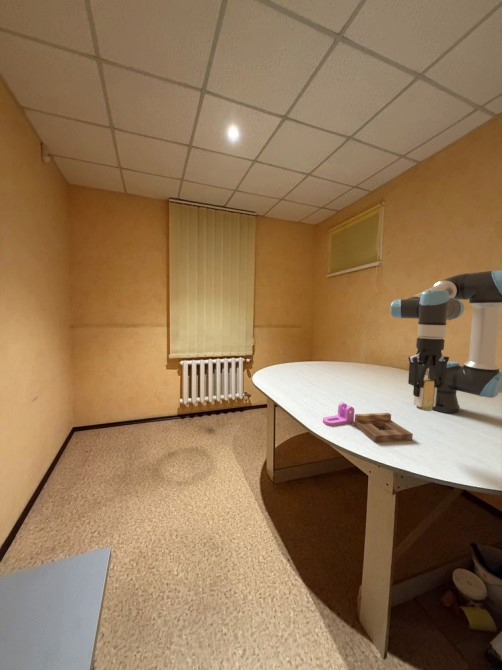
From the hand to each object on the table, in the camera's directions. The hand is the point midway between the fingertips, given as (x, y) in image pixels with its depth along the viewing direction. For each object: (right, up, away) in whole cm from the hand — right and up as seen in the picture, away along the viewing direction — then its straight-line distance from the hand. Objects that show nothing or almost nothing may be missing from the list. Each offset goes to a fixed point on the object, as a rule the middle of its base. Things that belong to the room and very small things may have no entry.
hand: (424, 405), depth 84 cm
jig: (-9, -14, +11) cm, 20 cm away
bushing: (0, -1, 0) cm, 1 cm away
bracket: (-23, -13, +20) cm, 33 cm away
